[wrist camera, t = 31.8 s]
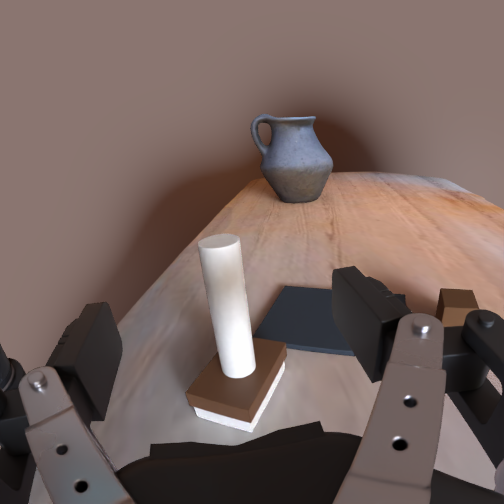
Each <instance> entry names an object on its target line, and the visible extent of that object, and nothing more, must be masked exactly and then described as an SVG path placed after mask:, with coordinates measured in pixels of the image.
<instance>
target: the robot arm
mask: <svg viewBox="0 0 504 504" xmlns="http://www.w3.org/2000/svg"><path fill="white" fill-rule="evenodd" d="M332 315H333V319H334V322H335V324H336V326H337V327H338V329H339V331H340V332H341V334H342V335H343V337H344V338H345V340H346V342H347V343H348V345H349V346H350V348H351V350H352V351H353V353H354V354H355V356H356V358H357V359H358V361H359V362H360V364H361V366H362V367H363V369H364V371H365V372H366V374H367V375H368V377H369V379H370V380H371V382H372V383H374V382H377V381H381V380H382V382H381V385H380V388H379V391H378V394H377V398H376V401H375V404H374V407H373V410H372V412H371V415H370V418H369V421H368V424H367V427H366V429H365V432H364V435H363V437H360V436H356V435H352V434H347V433H340V432H324V431H323V428H322V426H321V423H320V421H318V422H313V423H309V424H305V425H300V426H295V427H291V428H286V429H280V430H277V431H274V432H272V433H269V434H267V435H264V436H262V437H259V438H257V439H254V440H251V441H248V442H246V443H243V444H240V445H236V446H228V445H216V444H206V443H197V442H181V443H164V444H151V446H150V456H148V457H144V458H141V459H139V460H136V461H134V462H132V463H129V464H128V465H126V466H124V467H122V468H121V469H120V470H118V469H117V468H116V466H115V465H114V464H113V462H112V461H111V459H110V458H109V456H108V455H107V453H106V452H105V450H104V449H103V447H102V446H101V444H100V443H99V441H98V439H97V438H96V436H95V435H94V433H93V431H92V430H91V428H90V424H91V421H104V420H105V416H106V412H107V408H108V404H109V400H110V396H111V393H112V389H113V385H114V382H115V378H116V374H117V371H118V367H119V364H120V360H121V357H122V352H123V348H122V341H121V337H120V334H119V332H118V329H117V326H116V323H115V320H114V318H113V315H112V312H111V309H110V306H109V304H108V303H107V302H102V303H93V304H87V305H86V306H85V308H84V309H83V311H82V313H81V315H80V316H79V318H78V319H75V320H74V321H73V322H72V323H71V324H70V325H69V326H67V328H66V329H65V331H64V333H63V335H62V338H60V340H59V342H58V345H56V347H55V349H54V351H53V352H52V354H51V356H50V358H49V360H48V362H47V364H46V366H43V367H39V368H36V369H33V370H31V371H30V372H28V373H27V374H26V375H25V376H24V377H23V378H22V379H21V381H20V383H19V388H17V389H13V390H9V388H10V387H11V385H12V384H13V381H14V379H15V370H14V368H13V366H12V364H11V363H10V362H9V360H8V358H7V357H6V354H5V352H4V351H3V349H2V347H1V344H0V445H1V449H0V504H28V502H29V497H30V492H31V488H32V483H33V479H34V475H35V471H36V466H37V468H38V470H39V473H40V475H41V477H42V480H43V482H44V485H45V487H46V489H47V491H48V494H49V496H50V498H51V500H52V502H53V504H504V320H503V319H502V318H501V317H500V316H499V315H497V314H496V313H494V312H491V311H488V310H481V309H479V310H473V311H470V312H469V313H468V314H467V315H466V318H465V322H464V326H451V327H443V324H442V323H441V321H440V320H438V319H437V318H435V317H434V316H431V315H428V314H424V313H412V312H411V311H410V310H409V309H408V308H407V307H406V306H405V305H404V304H403V303H402V302H401V301H400V300H399V299H398V298H397V297H395V295H394V294H393V293H392V292H391V291H389V289H388V288H387V287H386V286H385V285H384V284H383V283H382V282H380V281H378V280H376V279H374V278H371V277H365V276H364V275H363V274H362V273H361V272H360V271H359V270H358V269H357V268H356V267H355V266H351V267H345V268H339V269H334V270H333V273H332ZM489 369H491V371H492V372H493V373H494V374H495V375H496V376H497V378H498V379H499V380H500V382H501V384H502V396H501V395H500V393H499V392H498V391H497V390H496V389H495V387H494V386H493V385H492V384H491V382H490V381H489V380H488V379H487V378H486V376H487V374H488V372H489ZM445 393H447V394H448V396H449V397H450V399H451V400H452V401H453V403H454V404H455V406H456V407H457V409H458V410H459V412H460V413H461V415H462V416H463V418H464V419H465V421H466V422H467V424H468V425H469V427H470V428H471V430H472V431H473V433H474V434H475V436H476V438H477V439H478V441H479V442H480V444H481V445H482V447H483V449H484V450H485V452H486V453H487V455H488V457H489V458H490V460H491V462H492V463H493V465H494V466H495V468H496V472H495V485H496V487H495V489H494V491H493V490H489V489H486V488H483V487H481V486H478V485H475V484H472V483H469V482H466V481H464V480H461V479H458V478H456V477H453V476H450V475H448V474H445V473H443V472H440V471H438V470H435V469H434V464H435V459H436V453H437V448H438V442H439V436H440V429H441V422H442V414H443V406H444V396H445Z"/></svg>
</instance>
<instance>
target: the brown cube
mask: <svg viewBox="0 0 504 504" xmlns="http://www.w3.org/2000/svg"><path fill="white" fill-rule="evenodd" d="M473 310H479V307H478V304H477V301H476V299H475V296H474V293H473V291H472V290H461V289H443V288H441V289H440V294H439V300H438V305H437V311H436V316H435V318H437V319H438V320H440V321H441V323H442V324H443V327H451V326H464V322H465V318H466V315H467V314H468V313H469V312H470V311H473Z"/></svg>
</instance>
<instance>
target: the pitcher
mask: <svg viewBox="0 0 504 504" xmlns="http://www.w3.org/2000/svg"><path fill="white" fill-rule="evenodd" d="M315 119H316V117H314V116H313V117H299V118H296V117H295V118H294V117H292V118H276V117H272V116H270V115H268V114H262V115H259V116H258V117H256V118H255V119H254V120H253V122H252V124H251V128H250V129H251V134H252V137H253V140H254V142H255V144H256V146H257V148H258V149H259V151H260V153H261V155H262V162H261V166H260V169H261V172H262V173H263V175H264V177H265V179H266V180H267V181H268V183H269V184H270V186H271V187H272V188H273V190H274V191H275V192H276V194H277V195H278V197H279V198H280V200H282V201H283V202H286V203H299V202H311V201H314V200H316V199H318V197H319V196H320V195H321V192H322V190H323V188H324V186H325V184H326V181H327V179H328V177H329V175H330V173H331V171H332V167H333V162H332V159H331V157H330V156H329V155H328V153H327V152H326V151H325V150H324V148H323V147H322V146H321V144H320V142H319V141H318V139H317V137H316V135H315V133H314V131H313V123H314V120H315ZM259 123H268V124H269V125H270V126H271V130H272V138H271V142H270V144H269V145H268V146H266V145H264V144H263V143H262V141H261V139H260V136H259V134H258V124H259Z"/></svg>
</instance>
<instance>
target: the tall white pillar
mask: <svg viewBox="0 0 504 504" xmlns="http://www.w3.org/2000/svg"><path fill="white" fill-rule="evenodd" d="M198 249H199V255H200V260H201V266H202V272H203V277H204V283H205V288H206V293H207V299H208V304H209V309H210V314H211V319H212V324H213V329H214V334H215V339H216V344H217V349H218V352H217V353H216V355H215V356H214V357H213V358H212V360H211V361H210V362H209V363H208V365H207V366H206V367H205V369H204V370H203V371H202V372H201V374H200V375H199V376H198V377H197V379H196V380H195V381H194V382H193V384H192V385H191V386H190V387H189V389H188V390H187V391H186V392H185V393H186V396H187V399H188V402H189V405H190V406H193V407H194V409H195V411H196V414H197V416H198V417H200V418H203V419H206V420H210V421H213V422H216V423H219V424H223V425H226V426H229V427H233V428H236V429H240V430H244V431H247V432H252V431H253V429H254V427H255V426H256V424H257V422H258V420H259V418H260V416H261V414H262V413H263V411H264V409H265V407H266V405H267V403H268V401H269V399H270V397H271V395H272V394H273V392H274V390H275V388H276V386H277V384H278V382H279V380H280V378H281V376H282V374H283V372H284V370H285V366H284V360H285V358H286V356H287V351H286V343H285V342H279V341H272V340H266V339H260V338H254V337H252V332H251V325H250V317H249V309H248V302H247V294H246V286H245V278H244V270H243V262H242V254H241V246H240V238H239V237H238V236H236V235H233V234H218V235H213V236H209V237H206V238H204V239H202V240H200V241H199V243H198Z"/></svg>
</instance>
